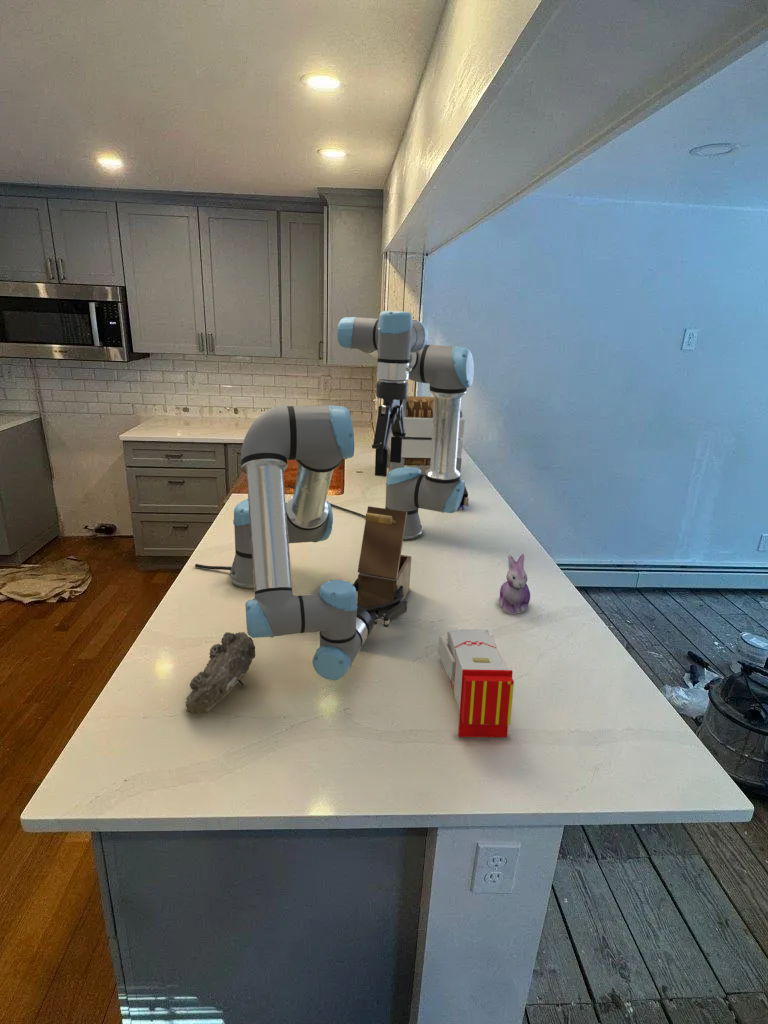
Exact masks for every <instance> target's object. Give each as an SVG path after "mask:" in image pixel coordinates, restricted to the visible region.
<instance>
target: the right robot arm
mask: <svg viewBox="0 0 768 1024" xmlns="http://www.w3.org/2000/svg"><path fill="white" fill-rule="evenodd" d="M336 339H337V342H338V344H339V346H341V347H342V348H344V349H349V350H353V349H356V350H359V351H361V352H363V353H365V354H367V355H369V356H370V357H372V358H374V359H376V377H375V378H376V379H377V380H378V381H376V383H375V396H376V398H378V399H382V400H383V402H382V404H379V405H378V407H377V411H378V412H377V418H376V419H377V420H376V425H375V431H374V437H373V443H372V445H371V448H372V449H373V450H375V457H374V458H375V459H374V476H376V477H383V478H386V482H385V504H384V505H385V507H384V509H391V510H398V511H406V512H407V518H406V524H405V531H404V537H403V541H410V540H415V539H418V538H420V537H421V536H422V535H423V525H422V524H421V518H420V515H419V509H422V510H428V511H433V512H438V513H442V514H443V513H447V514H454V513H456V512H457V511H458V509H459V508H460V507H459V505H460V503H461V500H462V497H463V493H464V489H465V487H466V481H465V480H463V479H461V474H460V472H459V471H458V470H457V469H456V462H457V448H458V435H459V421H460V408H461V405H462V397H463V396H464V395H465V394H466V393H467V391H468V388H471V386H472V385H473V383H474V376H475V364H474V363H475V361H474V358H473V354H472V351H471V350H470V349H469V348H467V347H464V346H456V345H441V344H440V345H438V344H427V343H428V341H429V330H428V328H427V327H426V325H425V324H424V323H423V322H422V321H419V320H417V319H413V315H412V313H411V312H410V311H398V310H397V311H396V310H382V311H381V312H380V313H379V317H378V318H371V317H358V316H357V317H356V316H347V317H346V316H345V317H342V318H341V319H340V320H339V322H338V324H337V329H336ZM408 380H410V381H412V382H416V383H420V384H429V392H430V393H431V394H432V396H433V397H434V405H433V424H432V442H431V461H430V466H429V468H427V469H426V470H425V471H424V472H425V473H422V469H421V468H419V467H417V466H404V467H403V468H397V469H393V470H391V471H390V470H389V472H388V467H387V458H388V449H386V448H387V444H388V440H389V435H390V431H391V430H392V435H393V436H394V437H391V452H390V462H395V463H401V451H402V437H405V436H406V433H404V432H405V427H404V413H403V399H406V398H407V397H408V396H409V383H408V382H407V381H408ZM461 409H462V408H461ZM287 487H288V488H292V489H293V490H294V489H295V486H293V485H290V484H287ZM329 503H330V505H331V507H334V508H336V509H340V510H342V511H346V512H348V513H350V514H354V515H357V516H360V517H362V518H365V516H366V514H365V515H364V514H363V513H361V512H360V513H359V512H356V511H354V510H351V509H348V508H345V507H342V506H339V505H336V504H334V503H331V502H329Z"/></svg>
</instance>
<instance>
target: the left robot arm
mask: <svg viewBox="0 0 768 1024" xmlns="http://www.w3.org/2000/svg"><path fill="white" fill-rule="evenodd" d="M354 455H355V435H354V425H353V419H352V415H351V412H350V410H349V409H348V408H347V407H346V406H341V405H333V404H329V405H277V406H273V407H270V408H268V409H267V410H264V412H262V413H261V414H260V415H259V416H258V417H257V418H256V419H255V420H254V421H253V422H252V423H251V425H250V427H249V428H248V430H247V432H246V434H245V436H244V439H243V442H242V446H241V449H240V469H241V471H242V473H244V474H245V475H246V487H247V499H244V500H242V501H240V502H238V503H237V504H236V505H235V507H234V508H233V519H232V523H233V525H234V526H233V527H234V528H233V529H234V549H235V551H234V553H235V555H234V557H233V560H232V561H233V562H232V565H231V566H223V565H222V566H221V565H205V564H201V563H195V564H194V567H195V568H199V569H203V570H204V569H205V570H222V571H229V581H230V582H231V584H232V585H233V586H235V587H236V588H237V587H238V588H240V589H244V590H253V591H254V592H253V593H254V596H253V598H252V599H249V600H247V601H246V602H245V622H246V624H245V625H246V634H247V636H248V637H250V638H252V639H257V638H274V637H280V636H288V635H297V634H308V633H317V632H319V646H318V648H316V651H315V652H314V654H313V657H312V667H313V669H314V671H315V672H316V673H317V674H318V675H319V676H320V677H321V678H323V679H325V680H328V681H337V680H340V679H342V678H344V677H345V675H346V674H347V673H348V671H349V670H350V669H352V665H353V663H354V661H355V660H356V658H357V656H358V653H359V652H360V650H361V649H362V647H363V645H364V644H365V641H366V640H367V638H368V637H369V636H370V633H371V632H372V630H373V628H374V626H375V625H377V624H382V625H383V627H384V628H389V626H390V624H391V623H392V622H394V621H395V620H397V619H398V618H399V617H401V616H402V615H403V614H405V613H406V612H407V611H408V601H407V600H405V599H404V595H403V586H400V587H399V589H398V591H397V593H396V594H395V596H394V600H392V601H389V602H387V603H384V604H382V605H379V606H378V605H374V606H372V607H365V606H362V605H359V606H358V605H357V595H358V577H357V578H356V579H355V581H354V582H353V583H351V582H350V581H347V580H344V579H331V580H329V581H325V582H323V583H322V584H321V585H320V587H319V591H318V593H311V594H302V595H301V594H300V595H294V591H293V579H292V568H291V567H292V566H291V554H290V544H300V543H319V542H324V541H326V540H328V539H329V538H330V536H331V534H332V531H333V524H334V514H333V507H332V506H331V505H330V503H331V502H329V501H327V497H328V494H329V489H330V485H331V481H332V476H333V472H334V471H335V470H336V469H337V468H339V466H340V465H341V464H342V462H343V459H344V460H348V459H351V458H353V457H354ZM291 460H292V461H293V460H295V461H296V462H297V470H296V475H295V476H296V477H295V483H294V487H295V489H293V494H292V495H291V496H290V497H289V499H288V500H287V501H286V491H285V479H284V478H285V477H284V472H285V471H286V470H287V469H288V461H291Z"/></svg>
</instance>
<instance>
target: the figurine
mask: <svg viewBox="0 0 768 1024" xmlns="http://www.w3.org/2000/svg"><path fill="white" fill-rule="evenodd" d="M507 561H508V562H507V563H508V571H507V573H506V576H505V578H506V581H505V582H504V583H503V584H501V586H500V588H499V589H500V590H499V598H498V605H499V607H500V608H501V609H502V611H503V612H504V613H507V614H511V615H518V614H519V613H525V612H526V611H527V609H528V607H529V604H530V601H531V591H530V588H529V585H528V584H527V582H528V575H527V571H526V570H525V568H524V567H525V566H524V563H525V554H524V553H521V554H520V555H519V557H518V558H517V560H515V559H514V557H513V556H512V555H511V554H509V555H508V556H507Z"/></svg>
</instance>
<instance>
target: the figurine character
mask: <svg viewBox="0 0 768 1024" xmlns="http://www.w3.org/2000/svg"><path fill="white" fill-rule="evenodd" d="M469 502H470V501H469V492H468V490H467V487H466V486H465V489H464V493H463V497H462V500H461V503H460V505H459V507H458V508H461V510H462V511H464V510H465V507H468V506H469Z"/></svg>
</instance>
